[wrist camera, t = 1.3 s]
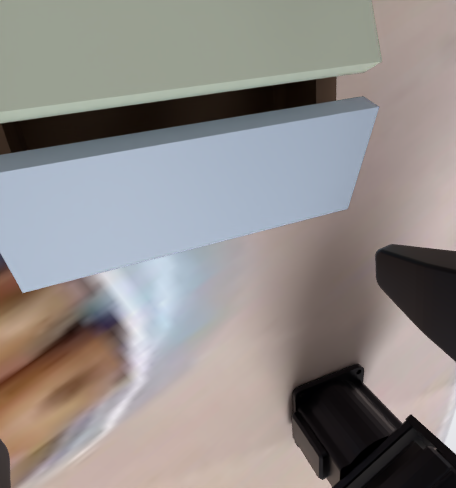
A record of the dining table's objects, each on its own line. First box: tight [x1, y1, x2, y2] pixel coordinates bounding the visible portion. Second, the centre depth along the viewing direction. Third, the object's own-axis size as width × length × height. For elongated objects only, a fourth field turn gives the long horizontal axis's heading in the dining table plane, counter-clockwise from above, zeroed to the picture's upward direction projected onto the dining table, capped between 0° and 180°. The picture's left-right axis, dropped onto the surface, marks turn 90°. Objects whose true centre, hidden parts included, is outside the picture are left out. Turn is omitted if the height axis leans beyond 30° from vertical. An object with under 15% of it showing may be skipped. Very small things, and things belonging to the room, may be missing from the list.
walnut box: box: [0, 76, 336, 155], centre depth 16 cm, size 14×10×5 cm
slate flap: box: [0, 96, 379, 293], centre depth 14 cm, size 14×5×1 cm, turn 96°
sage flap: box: [0, 0, 382, 123], centre depth 12 cm, size 14×5×1 cm, turn 96°
